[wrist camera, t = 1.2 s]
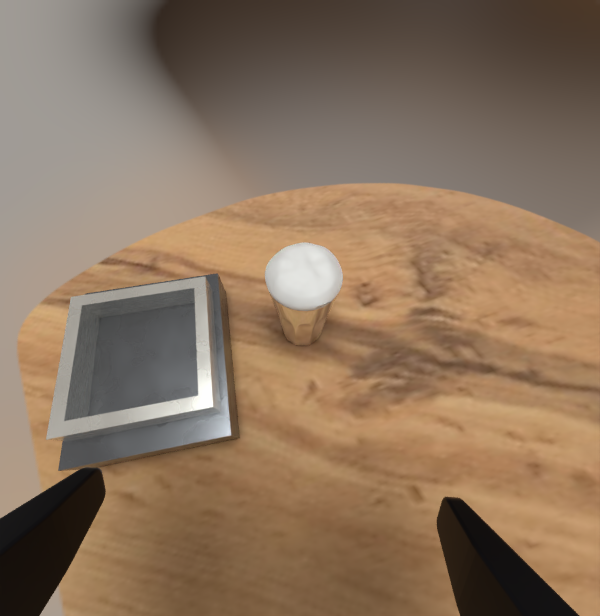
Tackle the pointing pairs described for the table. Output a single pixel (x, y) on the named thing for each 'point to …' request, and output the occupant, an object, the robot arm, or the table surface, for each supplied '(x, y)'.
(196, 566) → the table surface
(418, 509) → the table surface
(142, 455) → the grey open rectangular box
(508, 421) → the table surface
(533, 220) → the table surface
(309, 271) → the milkshake
